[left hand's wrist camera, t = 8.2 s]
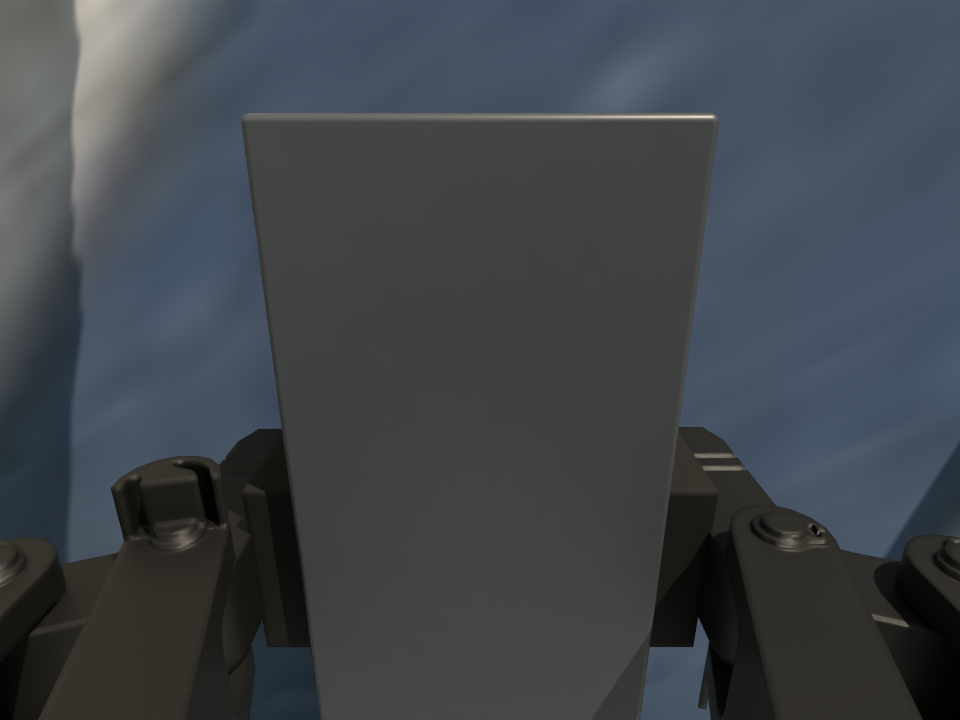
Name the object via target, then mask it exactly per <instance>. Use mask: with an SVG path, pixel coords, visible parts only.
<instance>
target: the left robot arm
mask: <svg viewBox="0 0 960 720" xmlns="http://www.w3.org/2000/svg"><path fill="white" fill-rule="evenodd" d="M111 491H112V495H113V499H114V503H115V506H116V510H117V514H118V518H119V522H120V526H121V530H122V534H123V538H124V543H123V545H122V547H121V549H120V551H119V552H118V553H114V554H110V555H106V556H101V557H96V558H91V559H86V560H81V561H76V562H71V563H66V564H61V562H60V559H59V556H58V552H57V549H56V546H55V545H54V544H52V543H51V542H50V541H48V540H47V539H41V538H34V537H26V538H17V539H7V540H3V541H0V720H249V717H250V708H251V700H252V692H253V683H254V675H255V664H254V658H253V652H252V646H251V643H252V641H253V639H254V637H255V635H256V632H257V630H258V628H259V626H260V623H261V621H262V619H263V624H264V630H265V636H266V642H267V647H311V644H310V637H309V629H308V622H307V614H306V607H305V599H304V592H303V584H302V577H301V569H300V562H299V554H298V546H297V539H296V531H295V524H294V516H293V509H292V501H291V494H290V486H289V479H288V471H287V464H286V456H285V448H284V441H283V433H282V429H258V430H256V431H255V432H253V433H251V434H250V435H248V436H246V437H245V438H243V439H242V440H240V441H238V442H237V443H236V445H235V446H234V447H233V448H232V450H231V451H230V452H229V453H228V455H227V456H226V460H223V461H222V462H221V463H220V465H218V464H217V463H216V462H214V461H213V460H212V459H209V458H204V457H199V456H177V457H172V458H167V459H162V460H157V461H154V462H151V463H149V464H146V465H143V466H140V467H138V468H136V469H134V470H132V471H131V472H129V473H127V474H126V475H124V476H122V477H121V478H120V479H119V480H118V481H117V482H116V483H115V484H114V485H113V486H112V487H111ZM698 617H699V619H700V622H701V624H702V626H703V628H704V630H705V633H706V635H707V637H708V639H709V646H708V652H707V657H706V663H705V669H704V674H703V680H702V686H701V691H700V697H699V704H698V708H702V709H706V707H707V702H708V699H709V707H710V715H711V720H960V538H957V537H952V536H941V535H932V534H930V535H923V536H916V537H914V538H912V539H911V540H910V541H908V542H907V543H906V545H905V548H904V551H903V554H902V558H901V561H900V562H898V561H893V560H888V559H883V558H878V557H873V556H868V555H863V554H858V553H853V552H849V551H845V550H841V549H840V548H839V546H838V544H837V542H836V540H835V539H834V537H833V536H832V535H831V534H830V532H829V531H828V530H827V529H826V528H825V527H824V526H822V525H821V524H819V523H818V522H816V521H815V520H813V519H812V518H810V517H808V516H805V515H803V514H801V513H798V512H796V511H794V510H791V509H786V508H782V507H777V506H776V505H775V504H774V503H773V501H772V500H771V499H770V498H769V496H768V495H767V494H766V493H765V492H764V490H763V489H762V488H761V487H760V485H759V484H758V483H757V482H756V480H755V479H754V478H753V477H752V475H751V474H750V473H749V472H748V471H745V467H744V465H743V464H742V463H741V462H740V460H739V459H738V458H735V454H734V453H733V452H732V450H731V449H730V448H729V447H728V445H727V444H726V443H725V442H724V440H722V439H721V438H719V437H718V436H716V435H714V434H713V433H711V432H709V431H708V430H706V429H704V428H703V427H678V435H677V442H676V450H675V458H674V465H673V473H672V480H671V488H670V496H669V503H668V511H667V518H666V526H665V534H664V541H663V549H662V556H661V564H660V572H659V579H658V587H657V594H656V602H655V610H654V617H653V625H652V632H651V640H650V647H693V644H694V638H695V632H696V626H697V620H698Z"/></svg>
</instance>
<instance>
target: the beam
mask: <svg viewBox="0 0 960 720" xmlns="http://www.w3.org/2000/svg"><path fill="white" fill-rule="evenodd" d="M241 124H242V132H243V139H244V147H245V154H246V162H247V170H248V177H249V185H250V192H251V200H252V207H253V215H254V222H255V230H256V237H257V245H258V252H259V260H260V268H261V275H262V283H263V290H264V298H265V305H266V313H267V320H268V328H269V335H270V343H271V350H272V358H273V366H274V373H275V381H276V388H277V396H278V403H279V411H280V418H281V426H282V433H283V441H284V448H285V456H286V464H287V471H288V479H289V486H290V494H291V501H292V509H293V516H294V524H295V531H296V539H297V546H298V554H299V562H300V569H301V577H302V584H303V592H304V599H305V607H306V614H307V622H308V629H309V637H310V644H311V652H312V659H313V667H314V675H315V682H316V690H317V697H318V705H319V712H320V720H640V716H641V708H642V701H643V693H644V685H645V678H646V670H647V663H648V655H649V647H650V640H651V632H652V625H653V617H654V610H655V602H656V594H657V587H658V579H659V572H660V564H661V556H662V549H663V541H664V534H665V526H666V518H667V511H668V503H669V496H670V488H671V480H672V473H673V465H674V458H675V450H676V442H677V435H678V427H679V420H680V412H681V405H682V397H683V389H684V382H685V374H686V367H687V359H688V351H689V344H690V336H691V329H692V321H693V313H694V306H695V298H696V291H697V283H698V275H699V268H700V260H701V253H702V245H703V237H704V230H705V222H706V215H707V207H708V200H709V192H710V184H711V177H712V169H713V162H714V154H715V146H716V139H717V131H718V124H719V122H718V117H717V116H716V115H714V114H712V113H248V114H246V115H244V116H243V117H242V122H241Z"/></svg>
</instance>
